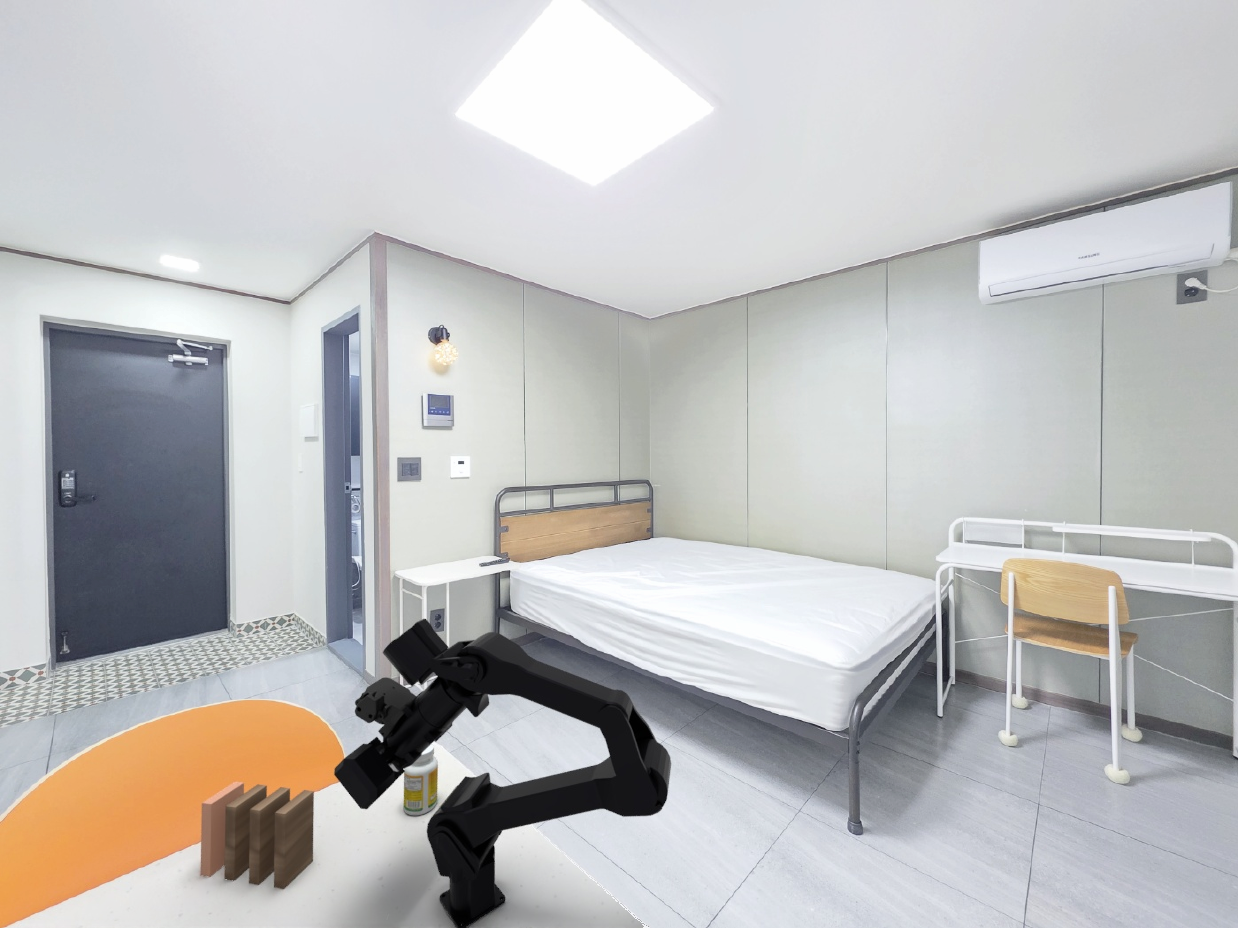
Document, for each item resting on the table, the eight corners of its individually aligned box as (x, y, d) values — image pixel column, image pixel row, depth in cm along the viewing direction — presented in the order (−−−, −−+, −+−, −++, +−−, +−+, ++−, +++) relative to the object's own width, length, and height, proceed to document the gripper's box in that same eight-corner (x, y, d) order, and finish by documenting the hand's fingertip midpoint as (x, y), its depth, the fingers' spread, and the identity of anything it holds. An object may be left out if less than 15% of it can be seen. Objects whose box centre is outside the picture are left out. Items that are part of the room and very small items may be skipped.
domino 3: (289, 857, 73) (290, 788, 73) (258, 884, 68) (259, 810, 68) (279, 855, 73) (280, 786, 73) (248, 883, 68) (250, 809, 68)
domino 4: (312, 860, 72) (313, 790, 72) (284, 888, 67) (285, 813, 67) (303, 859, 72) (304, 789, 73) (273, 887, 67) (274, 812, 68)
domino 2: (265, 853, 74) (266, 785, 74) (234, 880, 69) (235, 807, 69) (256, 852, 74) (257, 784, 74) (224, 879, 69) (225, 805, 69)
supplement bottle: (408, 821, 80) (408, 761, 81) (399, 803, 85) (400, 746, 85) (441, 807, 84) (442, 750, 84) (432, 791, 88) (432, 736, 88)
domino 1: (242, 850, 74) (244, 782, 74) (209, 876, 69) (211, 804, 70) (233, 848, 74) (235, 781, 75) (200, 875, 70) (201, 802, 70)
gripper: (434, 641, 77) (370, 707, 79) (349, 692, 59) (267, 777, 60) (481, 695, 75) (415, 762, 77) (409, 766, 57) (324, 852, 59)
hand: (361, 783), depth 68 cm, fingers closed
